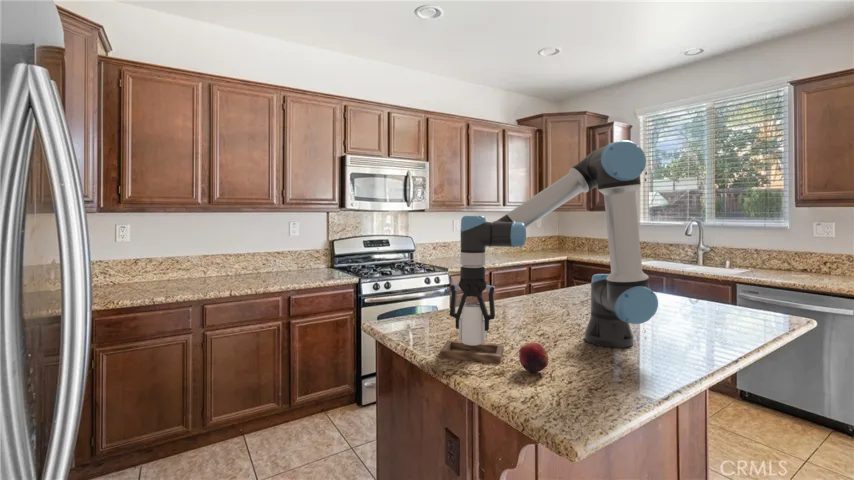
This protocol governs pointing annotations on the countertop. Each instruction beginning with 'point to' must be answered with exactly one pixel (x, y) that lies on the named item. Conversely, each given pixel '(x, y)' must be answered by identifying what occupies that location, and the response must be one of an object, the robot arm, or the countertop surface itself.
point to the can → (472, 324)
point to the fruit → (533, 357)
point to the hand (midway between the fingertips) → (472, 339)
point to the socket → (472, 356)
